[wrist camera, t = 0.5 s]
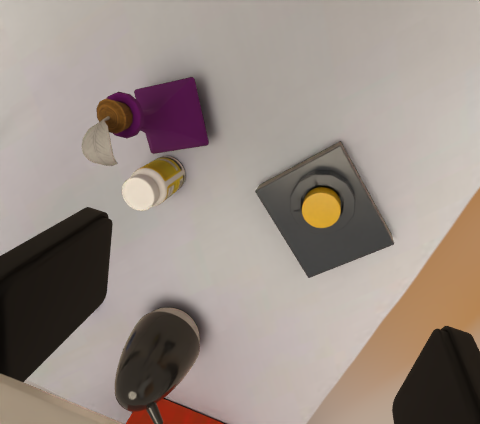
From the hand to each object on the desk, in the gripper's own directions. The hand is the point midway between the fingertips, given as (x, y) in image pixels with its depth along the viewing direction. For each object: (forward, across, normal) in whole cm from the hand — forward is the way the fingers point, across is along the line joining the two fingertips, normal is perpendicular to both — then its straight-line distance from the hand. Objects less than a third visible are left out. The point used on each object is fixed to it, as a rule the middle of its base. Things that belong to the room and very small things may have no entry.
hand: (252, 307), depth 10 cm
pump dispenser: (+35, +12, +35) cm, 51 cm away
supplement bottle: (+35, +17, +11) cm, 40 cm away
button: (+31, -3, +8) cm, 32 cm away
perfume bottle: (+35, +16, +3) cm, 39 cm away
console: (+35, -4, +10) cm, 36 cm away
